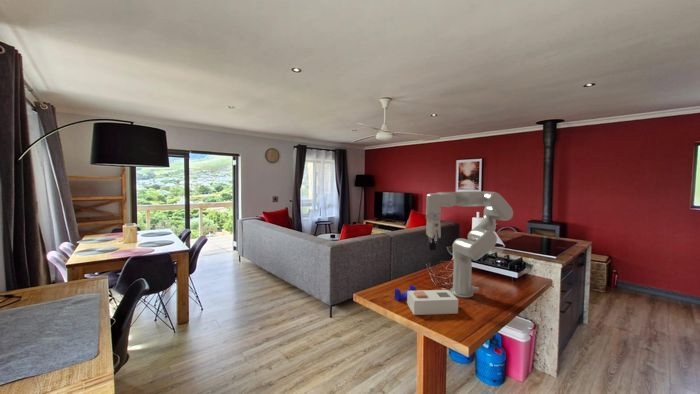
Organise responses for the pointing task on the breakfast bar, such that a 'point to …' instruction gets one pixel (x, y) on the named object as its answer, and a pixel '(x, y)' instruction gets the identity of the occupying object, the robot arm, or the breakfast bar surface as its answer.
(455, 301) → the block
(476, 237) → the robot arm
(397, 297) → the blue curved piece
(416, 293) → the dusty pink cube
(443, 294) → the charcoal plunger
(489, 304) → the breakfast bar surface
